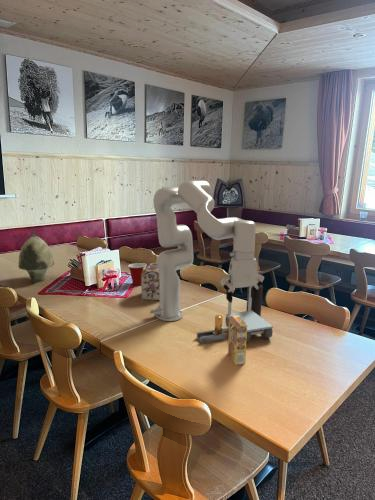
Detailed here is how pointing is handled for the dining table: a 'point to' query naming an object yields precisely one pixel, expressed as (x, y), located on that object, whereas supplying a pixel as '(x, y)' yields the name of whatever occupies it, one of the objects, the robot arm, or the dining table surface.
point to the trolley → (251, 321)
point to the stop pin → (219, 325)
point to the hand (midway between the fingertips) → (241, 299)
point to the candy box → (237, 339)
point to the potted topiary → (35, 258)
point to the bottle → (256, 301)
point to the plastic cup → (136, 272)
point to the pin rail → (210, 336)
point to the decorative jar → (150, 282)
